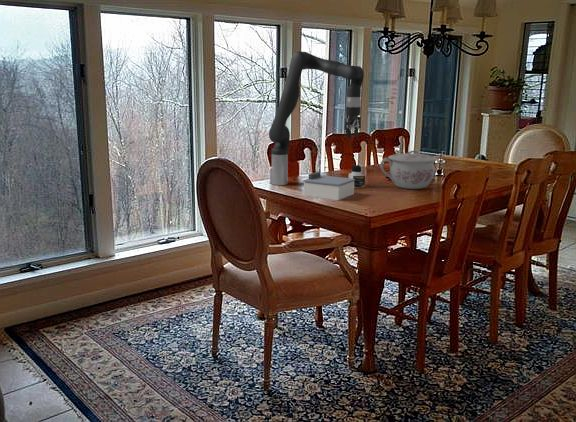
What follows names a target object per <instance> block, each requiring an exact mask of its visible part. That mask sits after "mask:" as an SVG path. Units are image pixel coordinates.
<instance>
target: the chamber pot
mask: <svg viewBox="0 0 576 422" xmlns="http://www.w3.org/2000/svg"><path fill="white" fill-rule="evenodd" d="M438 160H439V158H438V157H436V156H433V155H429V154H423V153H419V152H418V151H417V150H410V151H408V152H406V153H397V154H392V155H389V156H387V157H384V158H382V159H381V162H380V164H379V167H380V170H381V172H382V173H383V174H384V175H386V176H387V177H388V178H389V179H390V180H391V181H392V183H394V185H395V186H396V187H398V188H401V189H405V190H422V189H425V188H428V186H429V185H430V184H431V182H432V181H433V180H434V176H435V171H436V170H435V169H436V168H435V165H434V164H435V162H437V161H438ZM385 162H388V163H389V172H390V173H388V172H387V171H386V170H385V169H384V164H385Z"/></svg>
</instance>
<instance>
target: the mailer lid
mask: <svg viewBox="0 0 576 422" xmlns="http://www.w3.org/2000/svg"><path fill="white" fill-rule="evenodd" d="M352 181H355V179H351V178H349V177H340V176H330V175H323V174H321V171H316V172H311V173H309V174H308V178H306V179H303V180H302V182H303V183H304V182H309V183H318V184H326V185H334V186H341V185H343V184H346V183H349V182H352Z"/></svg>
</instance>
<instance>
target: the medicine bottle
mask: <svg viewBox="0 0 576 422" xmlns="http://www.w3.org/2000/svg"><path fill="white" fill-rule="evenodd" d="M363 168H364V167H363V165H359V164H355V165H352V166H351V172H349V173H348V178H351V179H355V181H354V189H359V188H365V187H366V184H365V183H366V175H365V174H363Z"/></svg>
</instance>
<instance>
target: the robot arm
mask: <svg viewBox="0 0 576 422" xmlns="http://www.w3.org/2000/svg"><path fill="white" fill-rule="evenodd" d="M290 58H291V59H290V63H289V68H288V73H287V77H286V80H285V84H284V87H283V90H282V94H281V97H280V101H279V104H278V106H277V110H276V113H275V117H274V119H273V121H272V123H271V126H270V128H269V131H268V132H269V133H268V137H269V140H270V141H271V142H273V143H274V145H273V148H271V166H270V167H269V184H271V185H273V186H287V185H288V180H289V179H288V176H289V174H288V169H289V168H288V166H289V165H288V163H289V160H288V159H289V157H288V156H289V154H288V153H289V149H290V142H291V141H290V140H291V138H290V137H291V134H290V132H291V131H290V130H289V128H288V126H286V123H287V121H288V119H289V117H290V116H291V114H293V112H294V111H295V109H296V106H297V104H298V102H299V97H300V93H301V92H300V77H301V75H302V72H303V70H317V71H320V72H324V73H326V74H328V75H332V76H336V77H341V78H343V79H346V80H349V81H350V84H349V85H348V86H347V90H346V103H345V104H346V105H345V115H346V116H348V117H346V118H345V119H344V130H345V131H346V139H348V140H349V139H352V129H354V130H353V138H358V137H359V131H360V129H361V127H362V125H361V123H362V117H361V115H362V114H361V112H362V111H361V110H362V98H361V97H362V95H361V94H362V86H363V81H364V76H365V74H364V73H365V72H364V69H363V68H362V67H361V66H359V65H349V64H347V63H346V64H345V63H344V62H339V61H336V60H331V59H324V58H321V57H319V56H316V55H314V54H311V53H309V52H306V51H302V50H301V51H296V52H294V53H293V54H292V56H291V57H290Z"/></svg>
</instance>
